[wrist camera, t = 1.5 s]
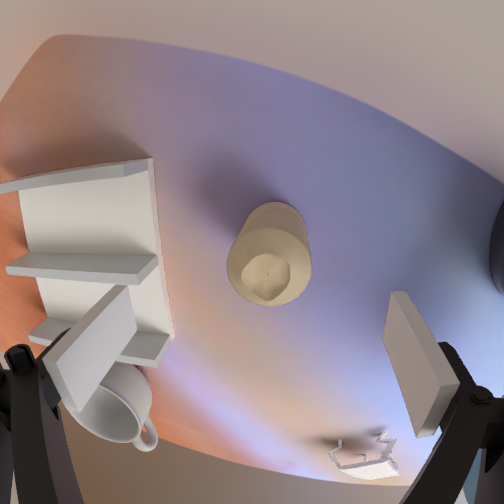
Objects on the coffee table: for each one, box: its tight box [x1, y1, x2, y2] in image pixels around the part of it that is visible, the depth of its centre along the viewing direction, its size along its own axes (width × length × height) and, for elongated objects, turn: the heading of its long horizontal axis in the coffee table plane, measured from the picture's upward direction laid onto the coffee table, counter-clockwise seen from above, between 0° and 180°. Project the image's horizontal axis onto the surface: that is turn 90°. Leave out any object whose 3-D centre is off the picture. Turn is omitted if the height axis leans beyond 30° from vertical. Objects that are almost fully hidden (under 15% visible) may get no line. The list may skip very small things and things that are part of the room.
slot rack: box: [0, 158, 175, 368], centre depth 29 cm, size 18×19×6 cm
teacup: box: [68, 361, 158, 451], centre depth 34 cm, size 14×11×8 cm
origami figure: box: [327, 431, 399, 480], centre depth 35 cm, size 12×8×5 cm
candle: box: [227, 202, 312, 306], centre depth 24 cm, size 6×6×10 cm
